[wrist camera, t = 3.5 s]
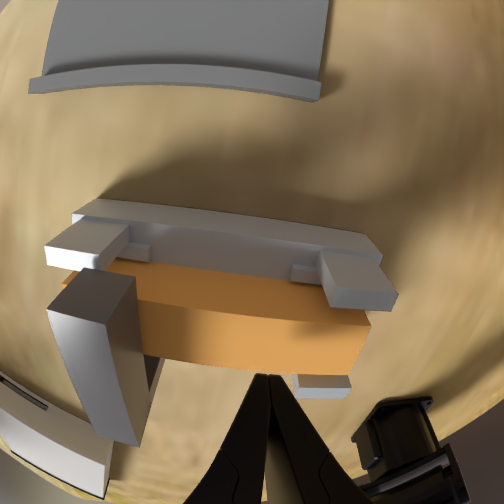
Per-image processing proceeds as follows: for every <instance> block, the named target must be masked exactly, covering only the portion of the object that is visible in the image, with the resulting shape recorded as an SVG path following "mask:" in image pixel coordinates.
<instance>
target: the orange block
mask: <svg viewBox="0 0 504 504" xmlns="http://www.w3.org/2000/svg"><path fill="white" fill-rule="evenodd" d="M105 271H107V272H113V273H119V274H124V275H130V276H136V287H137V301H138V313H139V323H140V332H141V341H142V349H143V354H145V355H150V356H155V357H161V358H166V359H171V360H177V361H183V362H189V363H196V364H202V365H209V366H217V367H225V368H233V369H242V370H252V371H263V372H275V373H290V374H311V375H348V373H349V371H350V369H351V368H352V366H353V364H354V362H355V360H356V358H357V356H358V354H359V352H360V350H361V348H362V346H363V343H364V341H365V339H366V337H367V335H368V333H369V331H370V329H371V324H370V322H369V320H368V318H367V316H366V314H365V312H364V310H361V309H348V308H337V307H330V305H329V303H328V300H327V297H326V295H325V292H324V289H323V286H322V285H318V284H310V283H301V282H293V281H289V280H281V279H273V278H265V277H257V276H249V275H241V274H234V273H226V272H219V271H212V270H204V269H197V268H190V267H183V266H176V265H169V264H162V263H156V262H149V261H148V262H145V261H139V260H132V259H126V258H119V257H116V258H115V259H114V260H113V262H112V263H111V264H110V265H109V266H108V267H107V269H106V270H105ZM79 272H80V271H76V270H74V271H73V272H72V273H71V274H70V275H69V277H68V278H67V279H66V280H65V281H64V282H63V283H62V287H63V289H64V288H65V287H66V286H67V285H68V284H69V283H70V282H71V280H72V279H73V278H74V277H75V276H76V275H77V274H78V273H79Z"/></svg>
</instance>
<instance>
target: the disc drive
mask: <svg viewBox="0 0 504 504" xmlns="http://www.w3.org/2000/svg"><path fill="white" fill-rule="evenodd" d="M0 434H1V435H2V437H3V438H4V440H5V441H6V443H7V444H8V446H9V447H10V448H11V452H12V453H13V454H15V455H17V456H18V457H20V458H21V459H23V460H24V461H26V462H28V463H29V464H31V465H33V466H34V467H36V468H38V469H39V470H41V471H43V472H45V473H47V474H48V475H50V476H52V477H54V478H56V479H58V480H60V481H62V482H64V483H66V484H68V485H70V486H72V487H74V488H76V489H78V490H81V491H83V492H85V493H87V494H90V495H92V496H95V497H97V498H100V499H102V500H104V498H105V495H106V491H107V487H108V484H109V480H110V479H109V471H110V464H111V457H112V450H113V444H114V440H110V439H107V438H104V437H101V436H98V435H97V433H96V431H95V430H94V428H93V426H92V424H90V423H88V422H86V421H84V420H82V419H80V418H78V417H76V416H74V415H72V414H70V413H68V412H66V411H64V410H62V409H60V408H58V407H56V406H55V405H53V404H51V403H49V402H47V401H46V400H44V399H42V398H41V397H39V396H37V395H36V394H34V393H32V392H31V391H29V390H27V389H26V388H24V387H23V386H21V385H20V384H18V383H17V382H15V381H14V380H12V379H11V378H9V377H8V376H6V375H5V374H4V373H2V372H1V371H0Z"/></svg>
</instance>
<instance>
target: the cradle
mask: <svg viewBox="0 0 504 504" xmlns="http://www.w3.org/2000/svg"><path fill="white" fill-rule="evenodd" d="M72 224H73V225H71V226H70V227H68V228H67V229H66V230H64V231H63V232H62V233H60V234H59V235H58V236H56V237H55V238H54V239H52V240H51V241H50V242H48V243H47V244H46V245H45V253H46V259H47V264H48V265H51V266H56V267H61V268H66V269H71V270H76V271H81V270H82V269H83V268H84V267H85V268H91V269H96V270H102V271H105V270H106V269H107V267H108V266H109V265H110V264H111V263H112V262H113V260H114V259H115V258H116V257H119V258H126V259H132V260H139V261H145V262H148V261H149V262H156V263H162V264H169V265H176V266H183V267H190V268H197V269H204V270H212V271H219V272H226V273H234V274H241V275H249V276H257V277H265V278H273V279H281V280H289V281H293V282H301V283H310V284H318V285H322V286H323V289H324V292H325V295H326V297H327V300H328V303H329V305H330V307H337V308H348V309H361V310H374V311H389V312H391V311H392V308H393V306H394V304H395V301H396V299H397V297H398V294H399V293H398V292H397V290H396V289H395V288H394V286H393V285H392V283H391V282H390V281H389V279H388V278H387V277H386V275H385V274H384V272H383V271H382V270H381V268H380V267H379V266H380V264H381V261H382V258H383V254H382V253H381V252H380V251H379V249H378V248H377V247H376V246H375V245H374V244H373V242H372V241H371V240H370V239H369V238H368V237H367V236H366V234H363V233H357V232H351V231H345V230H339V229H333V228H327V227H321V226H315V225H308V224H302V223H295V222H289V221H282V220H275V219H269V218H262V217H255V216H247V215H240V214H233V213H225V212H217V211H210V210H202V209H193V208H185V207H177V206H168V205H159V204H150V203H140V202H130V201H120V200H110V199H99V198H96V199H94V200H93V201H91V202H89V203H88V204H86V205H85V206H83V207H81V208H80V209H78V210H77V211H75V212H74V213H72ZM292 380H293V388H294V396H295V398H310V399H338V398H346V397H347V395H348V393H349V392H350V390H351V384H350V381H349V378H348V375H311V374H292Z"/></svg>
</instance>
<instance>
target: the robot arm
mask: <svg viewBox="0 0 504 504" xmlns="http://www.w3.org/2000/svg"><path fill="white" fill-rule="evenodd" d="M432 403H433V398H432V397H426V398H419V399H411V400H402V401H393V402H382V403H379V404H377V405H376V406H375V407H374V409H373V410H372V411H371V413H370V414H369V416H368V417H367V418H366V420H365V421H364V422H363V423H362V425H361V426H360V427H359V429H358V430H357V431H356V432H355V434H354V435H353V436H352V437H351V441H352V442H353V443H356V444H357V448H358V452H359V457H360V461H361V465H362V469H363V470H367V471H368V476H369V480H370V483H367V484H365V485H359V486H357V485H356V484H355V483H354V482H353V480H352V479H351V478H350V477H349V476H348V475H347V473H346V472H345V471H344V470H343V468H342V467H341V466H340V464H339V463H338V462H337V460H336V459H335V457H334V456H333V454H332V453H331V452H329V451H330V450H329V449H328V447H327V446H326V444H325V443H324V441H323V440H322V438H321V437H320V435H319V434H318V432H317V431H316V429H315V428H314V426H313V425H312V423H311V422H310V420H309V419H308V417H307V416H306V414H305V413H304V411H303V409H302V408H301V406H300V405H299V403H298V402H297V400H296V399H295V397H294V395H293V394H292V392H291V391H290V389H289V388H288V386H287V384H286V383H285V381H284V380H283V378H282V377H281V376H280V375H274V374H269V375H267V374H261V373H256V374H255V375H254V378H253V380H252V382H251V384H250V386H249V389H248V391H247V393H246V395H245V397H244V399H243V402H242V404H241V406H240V408H239V410H238V412H237V414H236V416H235V419H234V421H233V423H232V425H231V427H230V429H229V431H228V433H227V435H226V437H225V439H224V441H223V443H222V445H221V447H220V450H219V451H218V453H217V455H216V457H215V459H214V461H213V462H212V464H211V466H210V468H209V469H208V471H207V473H206V474H205V475H204V477H203V478H202V480H201V481H200V483H199V484H198V485H197V486H196V488H195V489H194V490H193V492H192V493H191V494H190V495H189V497H188V498H187V499H186V500H185V502H184V503H183V504H261V498H262V489H263V481H264V472H265V480H266V490H267V500H268V504H468V503H470V502H471V500H470V497H469V494H468V491H467V487H466V485H465V482H464V479H463V476H462V473H461V470H460V467H459V465H458V462H457V460H456V457H455V455H454V452H453V450H452V448H451V446H450V444H449V443H448V444H446V445H444V447H443V448H441V447H440V445H439V442H438V440H437V437H436V435H435V432H434V430H433V427H432V425H431V423H430V420H429V418H428V416H427V413H426V410H427V409H428V408H429V406H430V405H431V404H432ZM448 462H449V463H450V465H449V466H447V467H446V468H444V469H443V467H442V466H443V465H445V464H447V463H448Z"/></svg>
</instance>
